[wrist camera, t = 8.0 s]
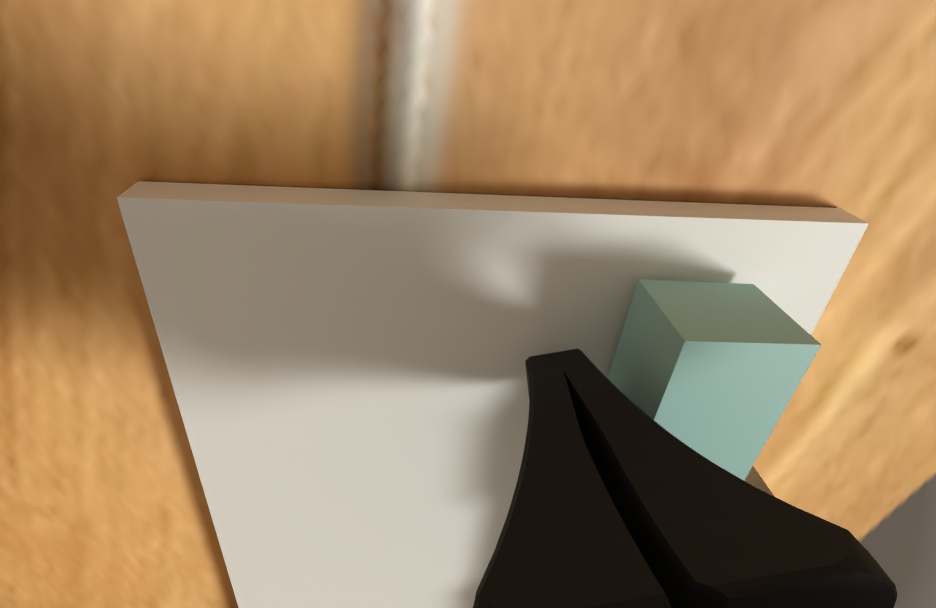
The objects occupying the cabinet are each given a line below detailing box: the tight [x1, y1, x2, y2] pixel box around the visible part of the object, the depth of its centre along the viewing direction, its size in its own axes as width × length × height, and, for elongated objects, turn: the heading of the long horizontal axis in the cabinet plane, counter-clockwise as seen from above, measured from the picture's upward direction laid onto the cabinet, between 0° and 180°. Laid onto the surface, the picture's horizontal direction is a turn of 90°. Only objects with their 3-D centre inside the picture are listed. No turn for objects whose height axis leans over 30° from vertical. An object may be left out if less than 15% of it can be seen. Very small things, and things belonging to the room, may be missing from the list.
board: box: [117, 181, 869, 608], centre depth 17 cm, size 20×17×1 cm
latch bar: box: [608, 279, 821, 480], centre depth 15 cm, size 17×4×4 cm, turn 174°
